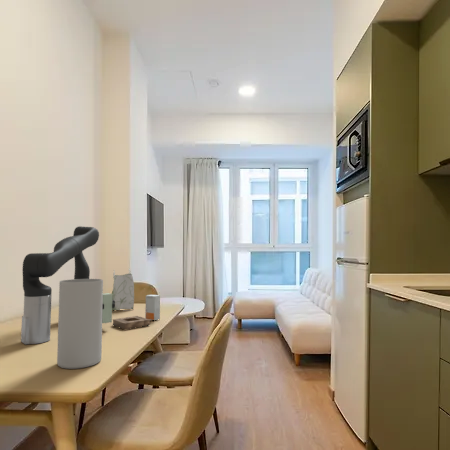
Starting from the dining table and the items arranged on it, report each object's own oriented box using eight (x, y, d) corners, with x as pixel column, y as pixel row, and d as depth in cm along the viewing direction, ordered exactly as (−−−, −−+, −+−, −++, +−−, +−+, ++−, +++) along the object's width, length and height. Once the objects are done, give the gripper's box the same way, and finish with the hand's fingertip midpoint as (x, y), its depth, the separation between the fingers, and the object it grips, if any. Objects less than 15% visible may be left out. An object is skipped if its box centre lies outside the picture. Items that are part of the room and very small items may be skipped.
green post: (102, 323, 146) (103, 294, 147) (98, 322, 149) (99, 293, 150) (111, 322, 149) (112, 293, 150) (107, 320, 152) (108, 293, 153)
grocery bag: (110, 303, 225) (111, 267, 227) (132, 302, 229) (133, 267, 231) (109, 311, 195) (109, 270, 197) (134, 310, 199) (135, 269, 201)
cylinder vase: (106, 356, 112) (108, 278, 114) (93, 369, 100) (95, 282, 102) (67, 356, 112) (69, 278, 114) (49, 370, 100) (52, 282, 101)
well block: (124, 330, 149) (125, 323, 149) (112, 325, 158) (113, 319, 158) (149, 325, 157) (149, 319, 157) (136, 321, 166) (136, 315, 166)
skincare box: (144, 320, 170) (145, 295, 171) (150, 318, 174) (150, 294, 175) (154, 321, 167) (154, 296, 168) (160, 319, 171) (160, 295, 172)
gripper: (77, 295, 156) (92, 298, 143) (108, 292, 166) (124, 296, 153) (76, 312, 155) (91, 317, 143) (107, 308, 165) (124, 313, 152)
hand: (108, 306), depth 148 cm, fingers closed on green post, 4 cm apart
